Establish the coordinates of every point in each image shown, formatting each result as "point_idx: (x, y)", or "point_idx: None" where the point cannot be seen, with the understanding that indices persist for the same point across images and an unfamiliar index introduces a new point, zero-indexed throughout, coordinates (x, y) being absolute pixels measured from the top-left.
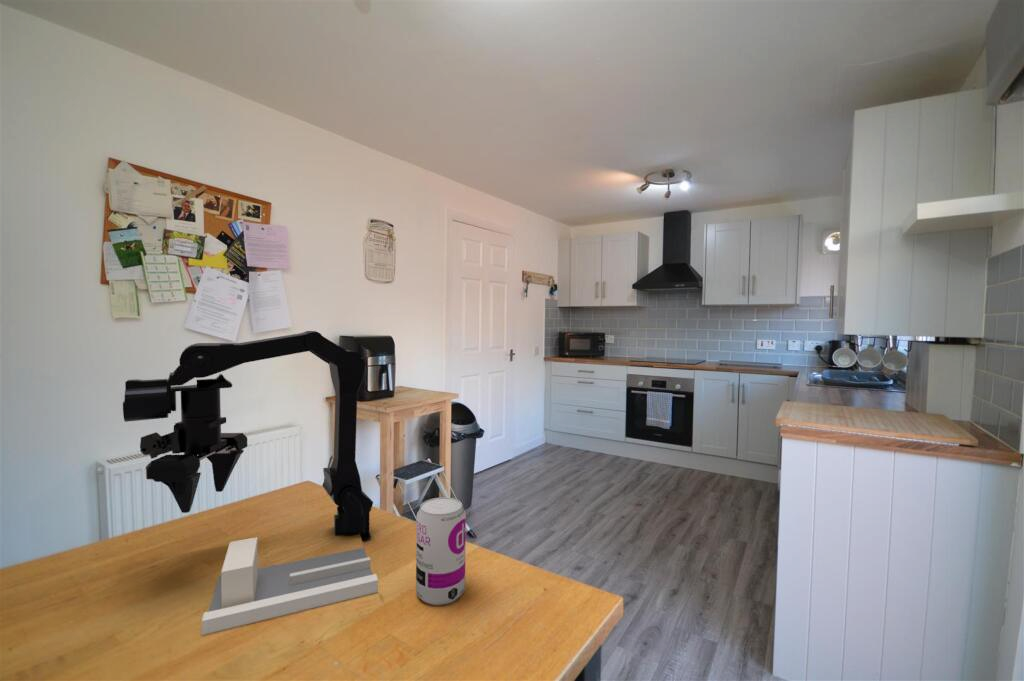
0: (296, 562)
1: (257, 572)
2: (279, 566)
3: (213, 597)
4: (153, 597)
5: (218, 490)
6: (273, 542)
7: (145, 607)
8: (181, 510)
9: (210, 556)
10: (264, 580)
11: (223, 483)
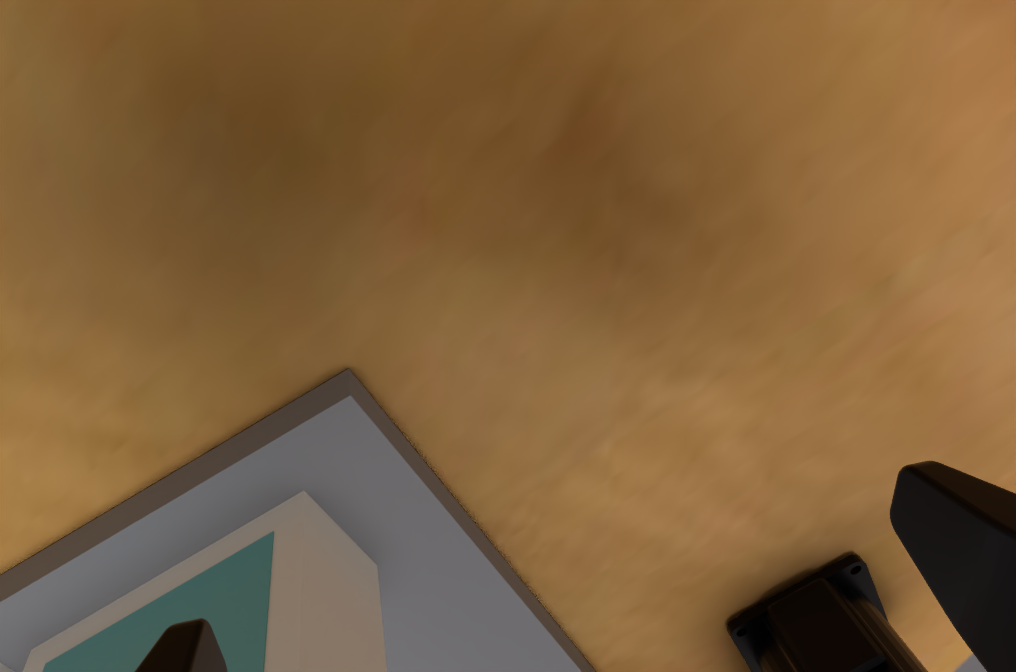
0: (524, 625)
1: (376, 587)
2: (483, 586)
3: (160, 511)
4: (146, 91)
5: (906, 499)
6: (797, 336)
7: (42, 134)
8: (149, 659)
9: (655, 76)
10: None
11: (966, 627)
